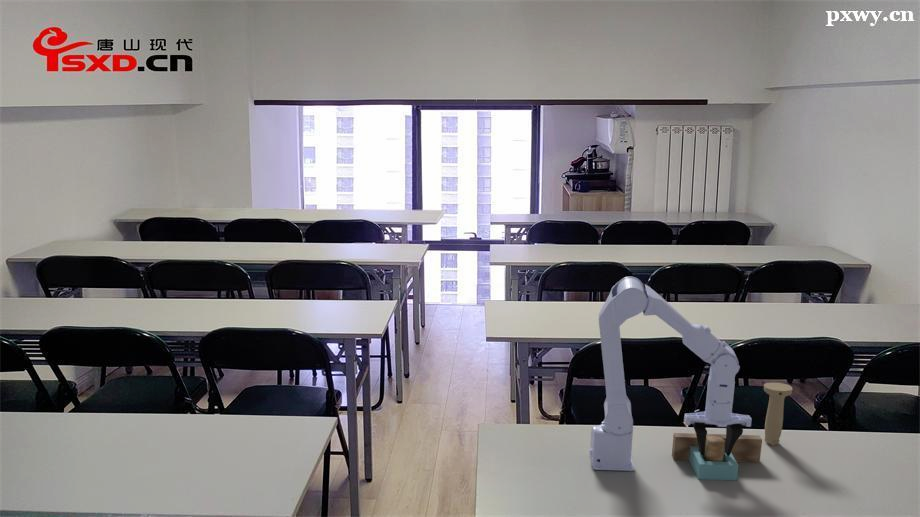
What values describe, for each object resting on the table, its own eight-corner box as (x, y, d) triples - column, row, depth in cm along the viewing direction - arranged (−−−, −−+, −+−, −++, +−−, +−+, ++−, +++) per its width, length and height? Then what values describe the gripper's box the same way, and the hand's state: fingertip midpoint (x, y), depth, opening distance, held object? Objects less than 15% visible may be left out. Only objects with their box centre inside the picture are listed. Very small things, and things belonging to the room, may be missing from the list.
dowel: (705, 472, 184) (708, 444, 183) (702, 463, 188) (705, 435, 187) (723, 473, 184) (726, 445, 182) (720, 464, 188) (722, 436, 186)
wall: (673, 460, 191) (675, 436, 190) (671, 455, 193) (673, 432, 191) (759, 462, 190) (762, 439, 189) (756, 458, 192) (759, 435, 191)
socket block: (698, 479, 183) (699, 464, 182) (689, 460, 191) (690, 445, 190) (736, 480, 182) (738, 465, 181) (726, 461, 191) (727, 447, 190)
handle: (787, 448, 197) (794, 391, 193) (760, 446, 198) (766, 390, 194) (782, 439, 202) (789, 383, 198) (755, 437, 202) (762, 381, 199)
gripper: (691, 405, 178) (686, 460, 182) (758, 406, 178) (751, 462, 181) (684, 391, 185) (679, 445, 189) (748, 393, 185) (742, 447, 188)
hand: (714, 453), depth 185 cm, fingers open, 5 cm apart
